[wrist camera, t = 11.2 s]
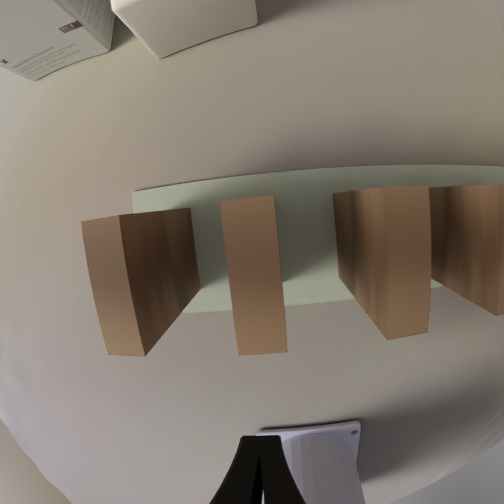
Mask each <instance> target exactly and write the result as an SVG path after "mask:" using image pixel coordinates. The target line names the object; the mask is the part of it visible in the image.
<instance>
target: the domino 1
mask: <svg viewBox="0 0 504 504" xmlns="http://www.w3.org/2000/svg"><path fill="white" fill-rule="evenodd" d="M81 225H82V232H83V240H84V246H85V253H86V259H87V265H88V270H89V276H90V281H91V286H92V291H93V296H94V300H95V305H96V309H97V314H98V318H99V322H100V326H101V330H102V334H103V337H104V341H105V345H106V348H107V352H108V355H119V356H146V355H147V354H148V352H149V351H150V350H151V349H152V347H153V346H154V345H155V344H156V343H157V341H158V340H159V339H160V338H161V336H162V335H163V334H164V333H165V332H166V330H167V329H168V328H169V327H170V326H171V324H172V323H173V322H174V321H175V320H176V318H177V317H178V316H179V315H180V313H181V312H182V311H183V310H184V309H185V307H186V306H187V305H188V304H189V303H190V301H191V300H192V299H193V298H194V297H195V295H196V294H197V293H198V292H199V291H200V289H201V286H200V279H199V272H198V265H197V258H196V250H195V242H194V234H193V226H192V218H191V209H190V208H181V209H171V210H161V211H152V212H143V213H134V214H125V215H117V216H111V217H105V218H99V219H94V220H88V221H83V222H81Z"/></svg>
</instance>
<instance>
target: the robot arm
mask: <svg viewBox="0 0 504 504" xmlns="http://www.w3.org/2000/svg"><path fill="white" fill-rule="evenodd" d="M354 430H356V431H354ZM352 431H354V432H352ZM360 431H361V424H360V422H359V421H350V422H343V423H336V424H329V425H321V426H311V427H301V428H289V429H273V430H259V431H257V433H256V436H243V437H241V439H240V443H239V446H238V449H237V452H236V455H235V457H234V460H233V462H232V464H231V466H230V468H229V470H228V472H227V474H226V476H225V478H224V480H223V482H222V484H221V486H220V487H219V489H218V491H217V492H216V494H215V496H214V497H213V499H212V500H211V502H210V503H209V504H261V503H262V504H365V500H364V495H363V491H362V487H361V483H360V479H359V475H358V471H357V467H356V461H357V454H358V447H359V439H360ZM262 495H263V497H262Z"/></svg>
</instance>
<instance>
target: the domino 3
mask: <svg viewBox="0 0 504 504" xmlns="http://www.w3.org/2000/svg"><path fill="white" fill-rule="evenodd" d="M332 195H333V205H334V217H335V229H336V244H337V260H338V277H339V278H340V280H341V281H342V282H343V283H344V285H345V286H346V287H347V289H348V290H349V291H350V292H351V294H352V295H353V296H354V297H355V299H356V300H357V301H358V303H359V304H360V305H361V306H362V308H363V309H364V310H365V312H366V313H367V314H368V315H369V317H370V318H371V319H372V321H373V322H374V323H375V325H376V326H377V327H378V329H379V330H380V331H381V333H382V334H383V335H384V337H385V338H386V339H387V340H389V339H395V338H401V337H406V336H412V335H417V334H422V333H427V332H428V323H429V310H430V293H431V218H430V201H429V189H428V185H420V186H394V187H379V188H371V189H362V190H354V191H346V192H338V193H332Z"/></svg>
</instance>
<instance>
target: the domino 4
mask: <svg viewBox="0 0 504 504" xmlns="http://www.w3.org/2000/svg"><path fill="white" fill-rule="evenodd" d="M428 189H429V201H430V218H431V279H433V280H435V281H437V282H438V283H440V284H442V285H444V286H446V287H447V288H449V289H451V290H453V291H454V292H456V293H458V294H460V295H461V296H463V297H465V298H467V299H468V300H470V301H472V302H474V303H475V304H477V305H479V306H480V307H482V308H484V309H486V310H487V311H489V312H491V313H492V314H494V315H496V316H499V315H502V314H504V185H471V186H448V187H429V188H428Z"/></svg>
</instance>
